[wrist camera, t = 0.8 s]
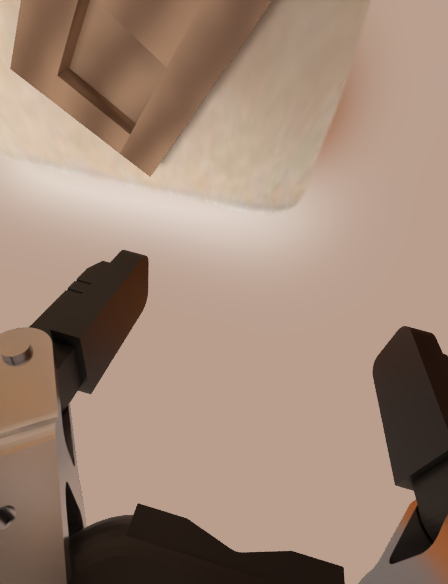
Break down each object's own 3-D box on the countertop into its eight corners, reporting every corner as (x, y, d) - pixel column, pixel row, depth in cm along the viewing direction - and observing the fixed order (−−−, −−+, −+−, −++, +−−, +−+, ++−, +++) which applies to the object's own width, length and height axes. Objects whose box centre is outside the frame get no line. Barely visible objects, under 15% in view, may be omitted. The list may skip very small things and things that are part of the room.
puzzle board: (31, 58, 28) (5, 70, 26) (109, -328, 15) (69, -371, 12) (159, 162, 34) (148, 179, 31) (304, -49, 20) (302, -44, 18)
